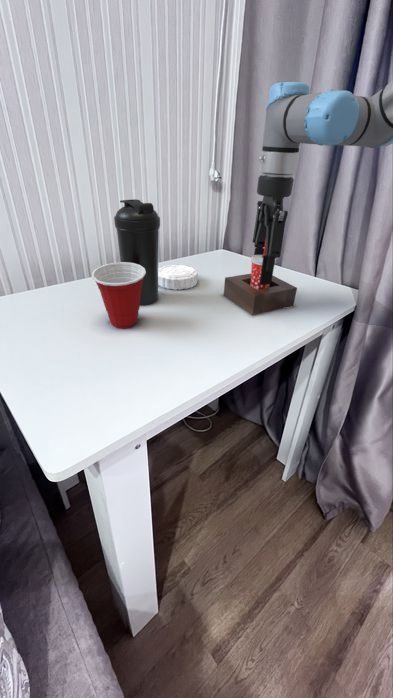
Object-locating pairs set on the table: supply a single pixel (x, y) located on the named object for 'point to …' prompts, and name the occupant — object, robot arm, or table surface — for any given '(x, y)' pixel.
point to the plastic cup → (120, 291)
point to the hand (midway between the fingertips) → (260, 278)
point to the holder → (259, 294)
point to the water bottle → (140, 243)
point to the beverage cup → (257, 271)
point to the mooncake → (177, 277)
